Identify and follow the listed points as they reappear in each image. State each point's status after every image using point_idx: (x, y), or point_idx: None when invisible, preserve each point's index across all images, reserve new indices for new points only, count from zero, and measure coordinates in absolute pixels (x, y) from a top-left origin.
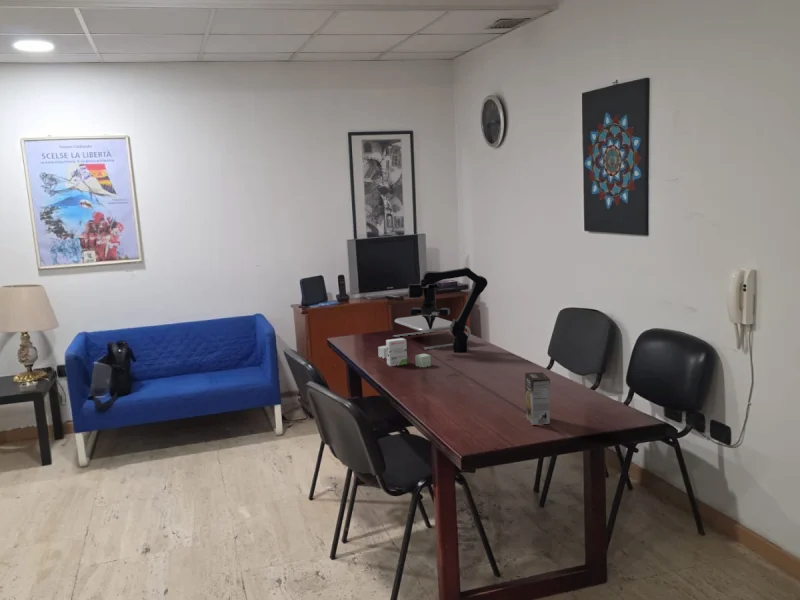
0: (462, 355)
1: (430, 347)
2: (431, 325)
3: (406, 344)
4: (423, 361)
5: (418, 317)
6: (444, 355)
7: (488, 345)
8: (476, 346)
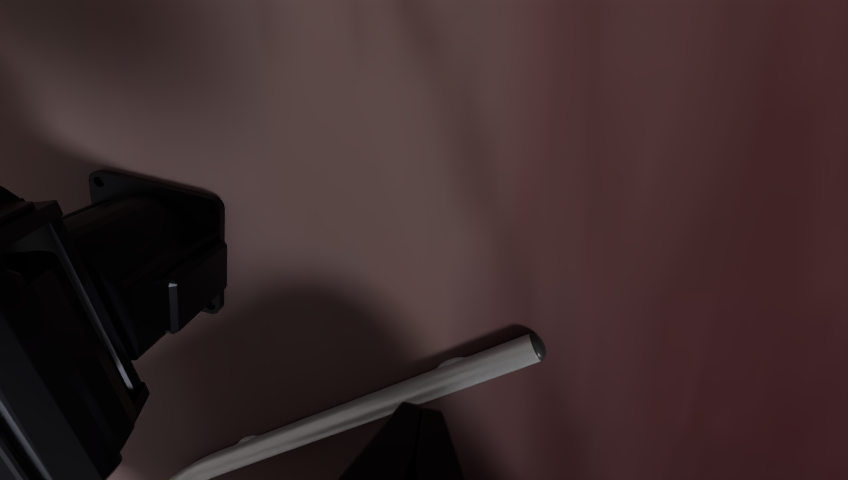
0: (109, 59)
1: (463, 369)
2: (369, 459)
3: None
4: None
5: None
6: (303, 76)
7: None
8: None
